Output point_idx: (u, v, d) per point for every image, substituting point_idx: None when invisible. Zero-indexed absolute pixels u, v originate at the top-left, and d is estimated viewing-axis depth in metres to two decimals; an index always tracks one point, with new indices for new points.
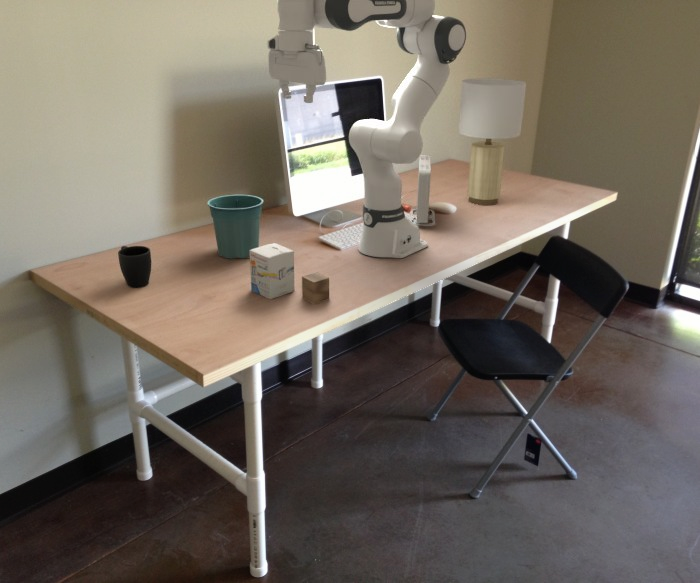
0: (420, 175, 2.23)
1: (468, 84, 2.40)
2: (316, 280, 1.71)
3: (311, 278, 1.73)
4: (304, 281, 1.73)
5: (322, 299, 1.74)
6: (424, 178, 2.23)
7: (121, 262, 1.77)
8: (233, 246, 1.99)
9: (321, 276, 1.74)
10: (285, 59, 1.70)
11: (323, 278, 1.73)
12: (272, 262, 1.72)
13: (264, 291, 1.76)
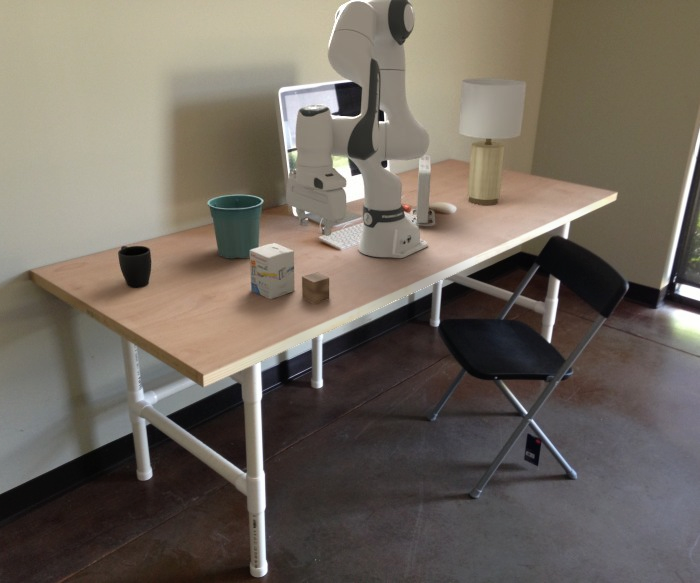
0: (420, 175, 2.23)
1: (468, 84, 2.40)
2: (316, 280, 1.71)
3: (311, 278, 1.73)
4: (304, 281, 1.73)
5: (322, 299, 1.74)
6: (424, 178, 2.23)
7: (121, 262, 1.77)
8: (233, 246, 1.99)
9: (321, 276, 1.74)
10: None
11: (323, 278, 1.73)
12: (272, 262, 1.72)
13: (264, 291, 1.76)
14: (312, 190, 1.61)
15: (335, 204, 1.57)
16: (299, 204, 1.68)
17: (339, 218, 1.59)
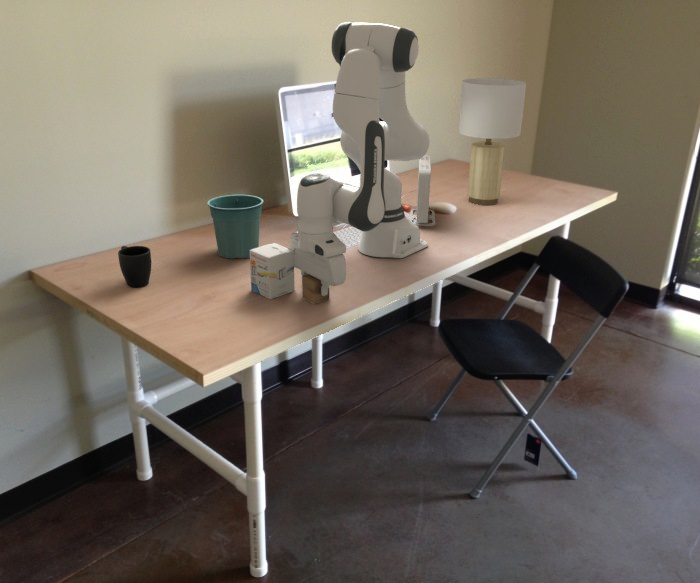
0: (420, 175, 2.23)
1: (468, 84, 2.40)
2: (316, 280, 1.71)
3: (311, 277, 1.73)
4: (304, 281, 1.73)
5: (322, 299, 1.74)
6: (424, 178, 2.23)
7: (121, 262, 1.77)
8: (233, 246, 1.99)
9: None
10: None
11: None
12: (272, 262, 1.72)
13: (264, 291, 1.76)
14: (313, 255, 1.68)
15: (335, 270, 1.64)
16: (300, 266, 1.74)
17: (339, 283, 1.66)
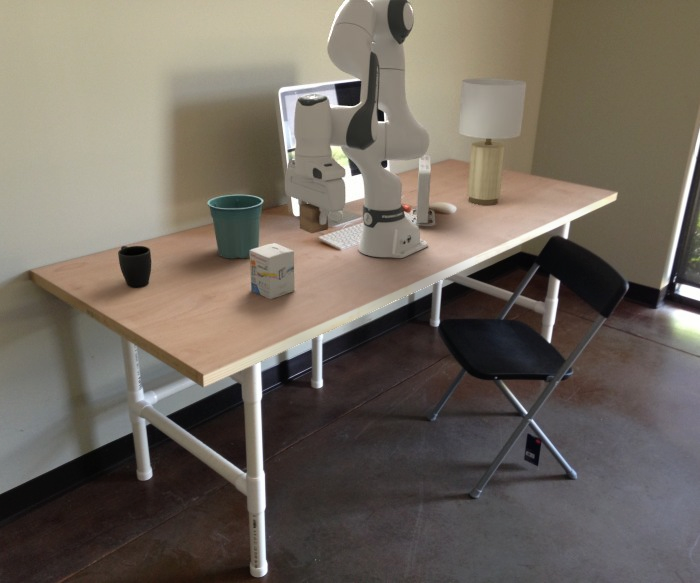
0: (420, 175, 2.23)
1: (468, 84, 2.40)
2: (314, 208, 1.64)
3: (309, 206, 1.66)
4: (302, 210, 1.66)
5: (320, 229, 1.67)
6: (424, 178, 2.23)
7: (121, 262, 1.77)
8: (233, 246, 1.99)
9: None
10: None
11: None
12: (272, 262, 1.72)
13: (264, 291, 1.76)
14: (311, 180, 1.60)
15: (334, 195, 1.57)
16: (298, 194, 1.67)
17: (338, 208, 1.58)
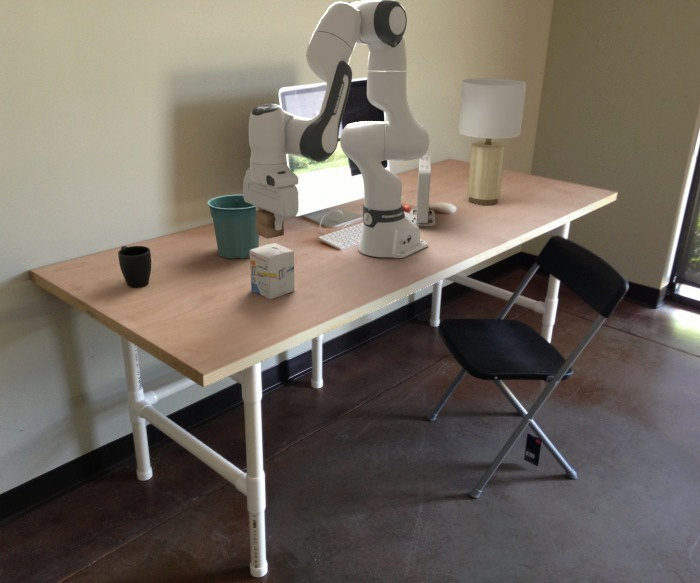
0: (420, 175, 2.23)
1: (468, 84, 2.40)
2: (269, 214, 1.69)
3: (265, 212, 1.71)
4: (258, 216, 1.71)
5: (276, 234, 1.72)
6: (424, 178, 2.23)
7: (121, 262, 1.77)
8: (233, 246, 1.99)
9: None
10: None
11: None
12: (272, 262, 1.72)
13: (264, 291, 1.76)
14: (265, 187, 1.66)
15: (287, 201, 1.62)
16: (255, 201, 1.72)
17: (291, 214, 1.64)
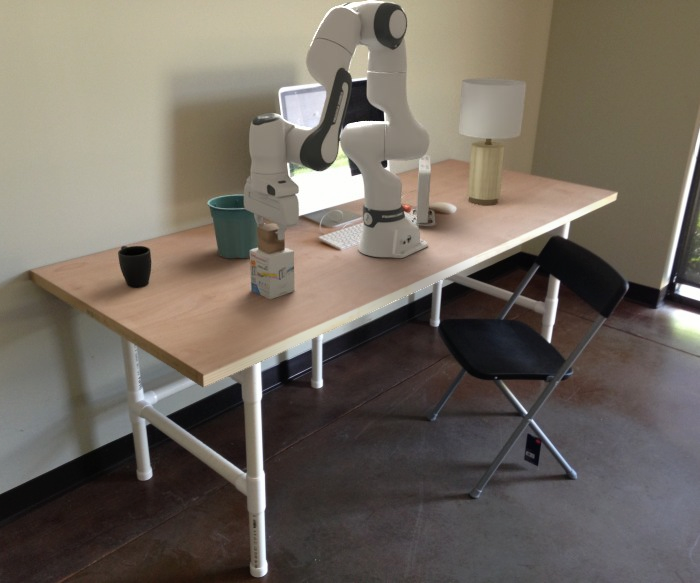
0: (420, 175, 2.23)
1: (468, 84, 2.40)
2: (270, 230, 1.71)
3: (266, 227, 1.73)
4: (259, 231, 1.73)
5: (277, 249, 1.74)
6: (424, 178, 2.23)
7: (121, 262, 1.77)
8: (233, 246, 1.99)
9: (276, 226, 1.73)
10: None
11: None
12: (272, 263, 1.72)
13: (264, 291, 1.76)
14: (266, 196, 1.67)
15: (287, 210, 1.63)
16: (255, 209, 1.73)
17: (292, 223, 1.65)
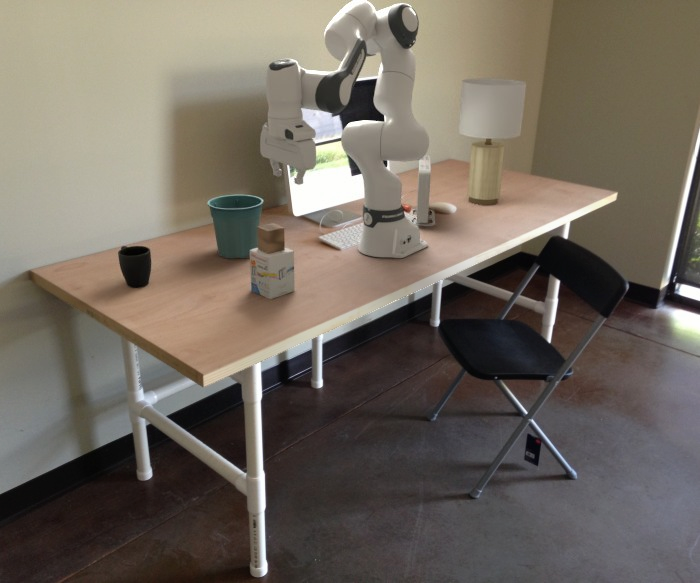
0: (420, 175, 2.23)
1: (468, 84, 2.40)
2: (270, 229, 1.71)
3: (266, 227, 1.73)
4: (259, 231, 1.73)
5: (277, 249, 1.74)
6: (424, 178, 2.23)
7: (121, 262, 1.77)
8: (233, 246, 1.99)
9: (276, 226, 1.73)
10: None
11: (278, 228, 1.72)
12: (272, 262, 1.72)
13: (264, 291, 1.76)
14: (284, 141, 1.71)
15: (305, 154, 1.68)
16: (272, 155, 1.78)
17: (310, 167, 1.70)
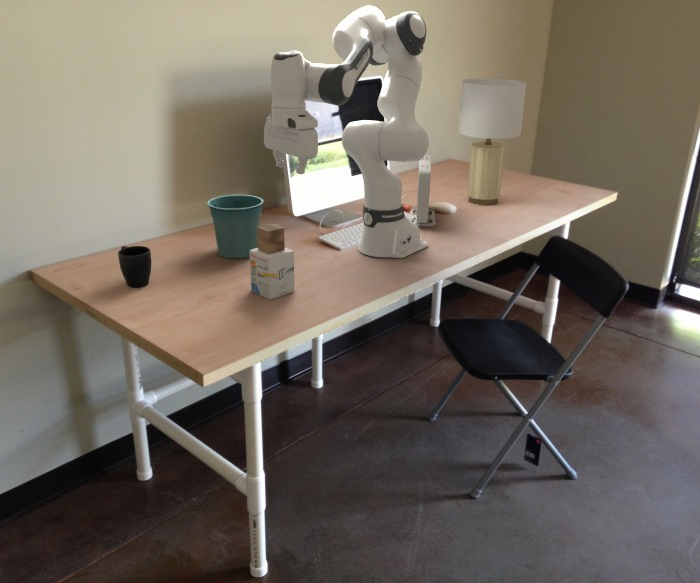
0: (420, 175, 2.23)
1: (468, 84, 2.40)
2: (270, 230, 1.71)
3: (266, 228, 1.73)
4: (259, 231, 1.73)
5: (277, 249, 1.74)
6: (424, 178, 2.23)
7: (121, 262, 1.77)
8: (233, 246, 1.99)
9: (276, 226, 1.73)
10: None
11: (278, 228, 1.72)
12: (272, 263, 1.72)
13: (264, 291, 1.76)
14: (286, 131, 1.74)
15: (307, 143, 1.70)
16: (275, 146, 1.80)
17: (311, 156, 1.72)
